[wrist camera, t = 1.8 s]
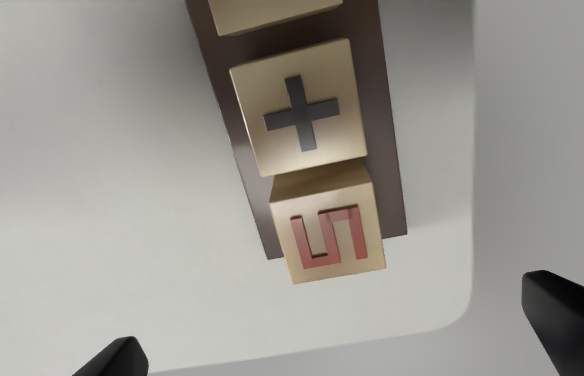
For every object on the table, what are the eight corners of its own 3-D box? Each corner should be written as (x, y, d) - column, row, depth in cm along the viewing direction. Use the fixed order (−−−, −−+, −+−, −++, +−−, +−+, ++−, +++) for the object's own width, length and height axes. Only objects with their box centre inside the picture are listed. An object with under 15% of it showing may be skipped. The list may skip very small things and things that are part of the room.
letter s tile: (360, 153, 18) (373, 183, 14) (372, 228, 19) (387, 271, 16) (274, 171, 18) (267, 204, 15) (294, 243, 20) (292, 288, 16)
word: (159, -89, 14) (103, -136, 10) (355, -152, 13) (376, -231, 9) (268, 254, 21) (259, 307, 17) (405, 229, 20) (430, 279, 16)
